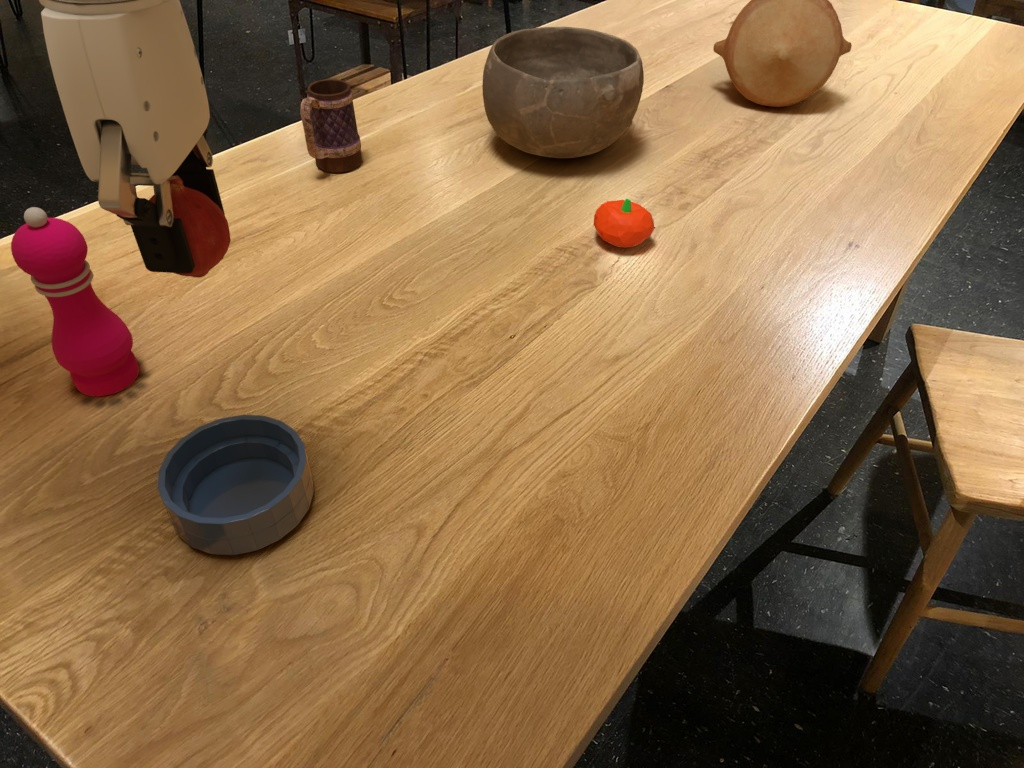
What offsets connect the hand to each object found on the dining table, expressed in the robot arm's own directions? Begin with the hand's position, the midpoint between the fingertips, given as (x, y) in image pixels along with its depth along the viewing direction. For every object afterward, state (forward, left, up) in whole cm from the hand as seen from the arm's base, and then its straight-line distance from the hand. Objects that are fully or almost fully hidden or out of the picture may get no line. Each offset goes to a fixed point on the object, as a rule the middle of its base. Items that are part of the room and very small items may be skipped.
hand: (187, 241), depth 54 cm
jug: (+69, +97, -25) cm, 122 cm away
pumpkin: (+37, +42, -25) cm, 62 cm away
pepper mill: (-19, +12, -25) cm, 34 cm away
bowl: (+29, +69, -25) cm, 79 cm away
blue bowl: (0, -4, -25) cm, 25 cm away
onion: (0, 0, -3) cm, 3 cm away
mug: (-5, +59, -25) cm, 65 cm away
